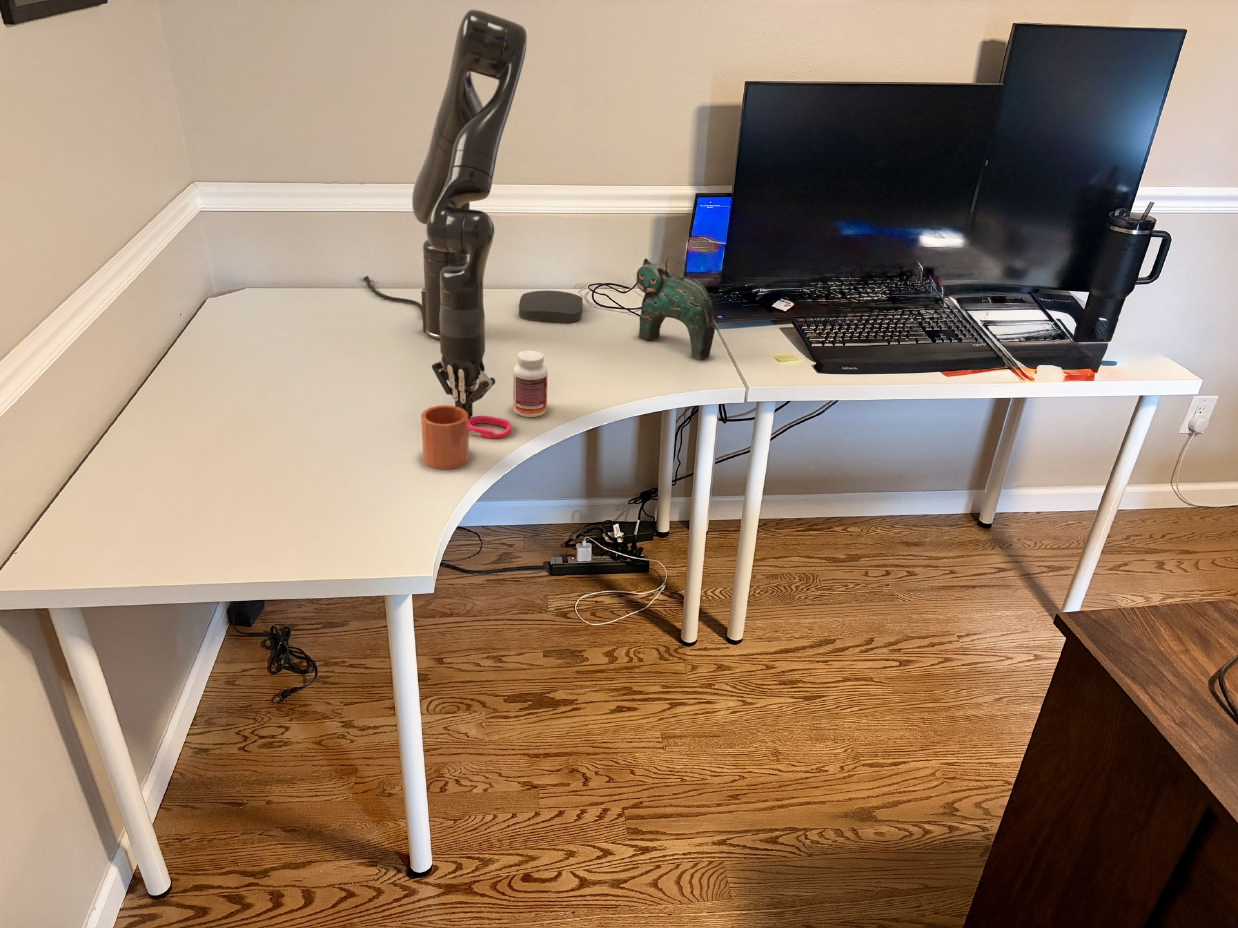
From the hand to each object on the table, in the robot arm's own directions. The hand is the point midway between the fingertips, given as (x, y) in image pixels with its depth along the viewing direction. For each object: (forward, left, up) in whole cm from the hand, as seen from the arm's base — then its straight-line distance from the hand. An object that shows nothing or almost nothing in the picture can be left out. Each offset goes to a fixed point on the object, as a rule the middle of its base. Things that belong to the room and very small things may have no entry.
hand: (463, 418), depth 161 cm
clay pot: (+6, -12, -1) cm, 13 cm away
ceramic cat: (+11, +57, -1) cm, 58 cm away
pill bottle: (+6, +11, -1) cm, 13 cm away
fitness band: (+5, 0, -1) cm, 5 cm away
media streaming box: (-22, +57, -1) cm, 61 cm away
